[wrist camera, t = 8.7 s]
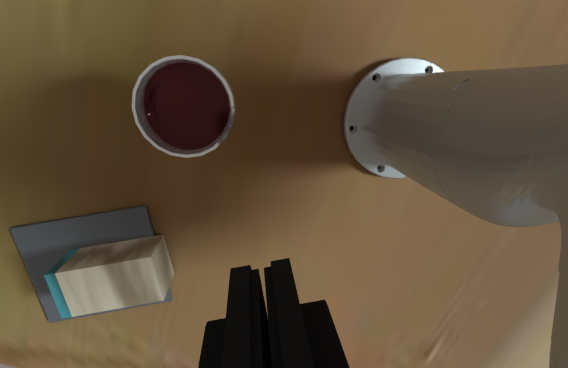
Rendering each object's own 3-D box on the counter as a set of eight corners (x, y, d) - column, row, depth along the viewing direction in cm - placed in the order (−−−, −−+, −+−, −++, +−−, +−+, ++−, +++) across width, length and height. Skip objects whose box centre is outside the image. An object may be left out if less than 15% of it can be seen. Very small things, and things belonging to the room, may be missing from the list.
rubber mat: (146, 205, 36) (145, 206, 36) (172, 298, 40) (171, 300, 39) (12, 227, 35) (9, 228, 35) (51, 320, 39) (49, 322, 38)
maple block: (151, 256, 32) (43, 275, 31) (163, 300, 34) (61, 318, 33) (163, 234, 37) (70, 249, 36) (174, 273, 38) (85, 288, 38)
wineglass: (227, 142, 35) (218, 171, 24) (163, 120, 34) (119, 139, 22) (248, 78, 33) (249, 76, 22) (181, 53, 32) (144, 36, 21)
